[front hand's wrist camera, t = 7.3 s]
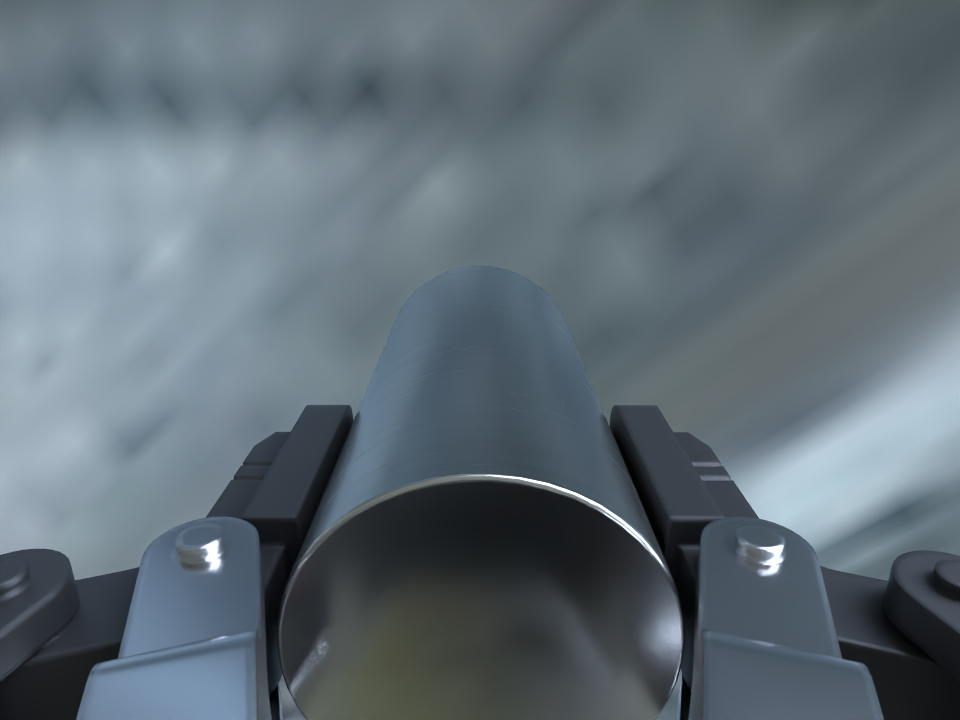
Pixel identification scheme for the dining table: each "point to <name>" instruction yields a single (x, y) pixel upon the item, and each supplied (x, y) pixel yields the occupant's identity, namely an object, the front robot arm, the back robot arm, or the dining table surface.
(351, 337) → the dining table surface
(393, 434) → the metal cylinder
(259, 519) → the front robot arm
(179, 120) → the dining table surface
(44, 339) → the dining table surface
